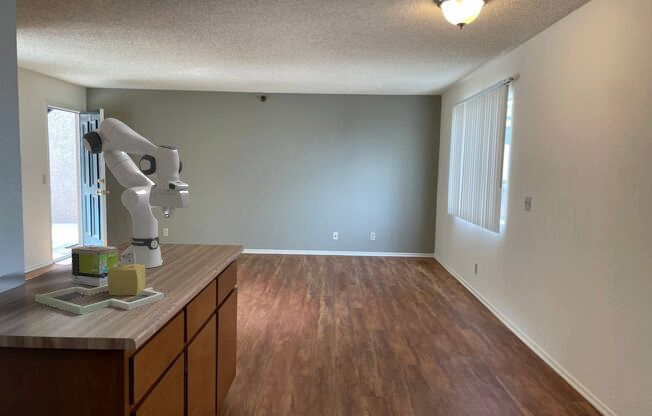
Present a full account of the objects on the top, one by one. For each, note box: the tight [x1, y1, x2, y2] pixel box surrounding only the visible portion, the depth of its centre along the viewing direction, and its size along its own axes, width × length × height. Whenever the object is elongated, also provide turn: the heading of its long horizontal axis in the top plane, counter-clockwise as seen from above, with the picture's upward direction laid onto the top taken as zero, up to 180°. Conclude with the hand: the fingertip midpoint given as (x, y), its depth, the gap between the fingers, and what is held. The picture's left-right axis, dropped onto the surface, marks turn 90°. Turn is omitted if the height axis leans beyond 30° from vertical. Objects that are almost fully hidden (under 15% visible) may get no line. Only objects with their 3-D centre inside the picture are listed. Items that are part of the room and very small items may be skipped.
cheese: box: [107, 264, 147, 296], centre depth 155 cm, size 10×11×10 cm
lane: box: [34, 284, 165, 315], centre depth 146 cm, size 35×28×2 cm
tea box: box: [70, 244, 119, 287], centre depth 167 cm, size 15×10×15 cm, turn 71°
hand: (168, 217), depth 170 cm, fingers closed
